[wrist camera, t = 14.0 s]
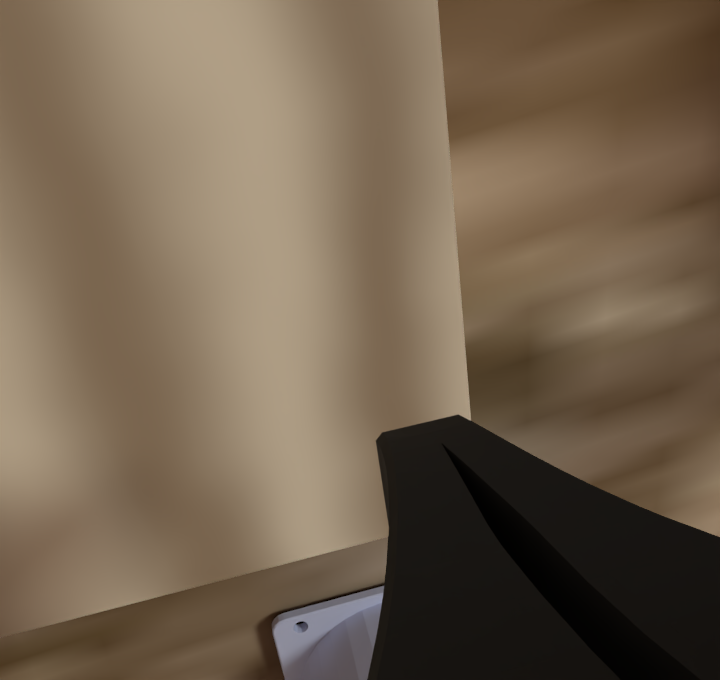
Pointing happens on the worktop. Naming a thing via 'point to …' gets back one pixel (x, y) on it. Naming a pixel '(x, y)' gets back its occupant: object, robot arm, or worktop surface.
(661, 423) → the worktop surface
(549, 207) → the worktop surface
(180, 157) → the birch board
